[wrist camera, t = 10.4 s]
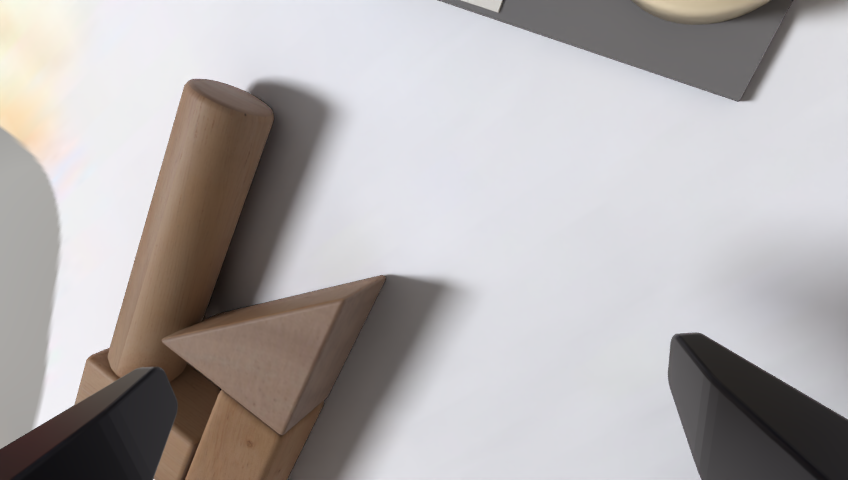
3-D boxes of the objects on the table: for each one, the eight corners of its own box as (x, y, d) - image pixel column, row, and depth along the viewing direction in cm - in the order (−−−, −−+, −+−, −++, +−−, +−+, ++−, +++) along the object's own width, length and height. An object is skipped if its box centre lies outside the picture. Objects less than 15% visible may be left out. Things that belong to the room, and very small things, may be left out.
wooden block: (229, 550, 24) (389, 210, 18) (69, 411, 27) (160, 69, 20) (279, 499, 27) (429, 197, 21) (133, 379, 30) (228, 77, 24)
